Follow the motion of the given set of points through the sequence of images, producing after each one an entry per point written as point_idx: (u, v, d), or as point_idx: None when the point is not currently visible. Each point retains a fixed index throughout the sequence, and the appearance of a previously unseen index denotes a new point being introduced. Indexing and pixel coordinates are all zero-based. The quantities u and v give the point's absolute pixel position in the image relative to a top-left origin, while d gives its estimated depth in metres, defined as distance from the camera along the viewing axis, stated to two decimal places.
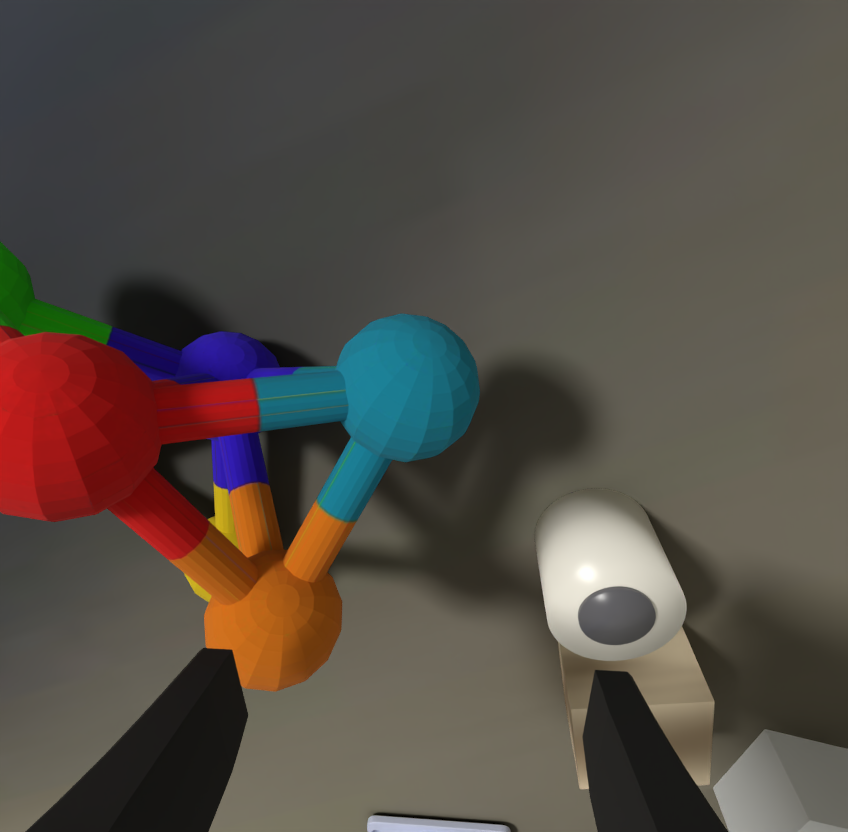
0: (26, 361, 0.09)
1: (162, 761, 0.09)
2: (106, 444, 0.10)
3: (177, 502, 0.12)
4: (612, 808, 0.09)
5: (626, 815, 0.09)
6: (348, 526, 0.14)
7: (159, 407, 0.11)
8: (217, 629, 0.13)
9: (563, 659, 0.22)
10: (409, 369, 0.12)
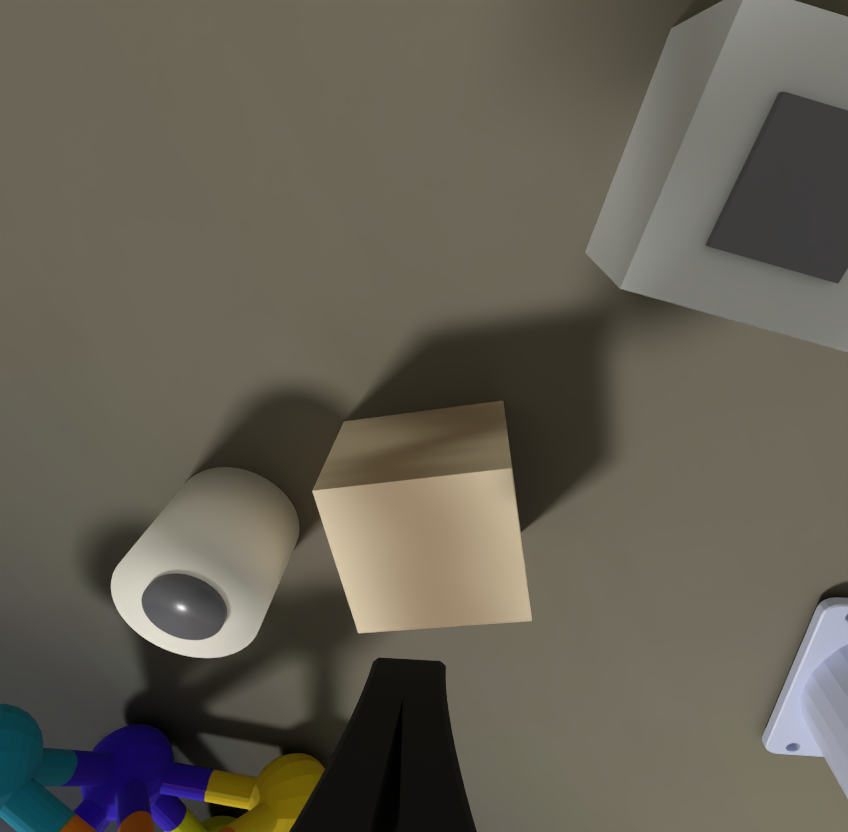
0: None
1: (384, 777, 0.08)
2: None
3: None
4: None
5: None
6: None
7: None
8: None
9: None
10: None
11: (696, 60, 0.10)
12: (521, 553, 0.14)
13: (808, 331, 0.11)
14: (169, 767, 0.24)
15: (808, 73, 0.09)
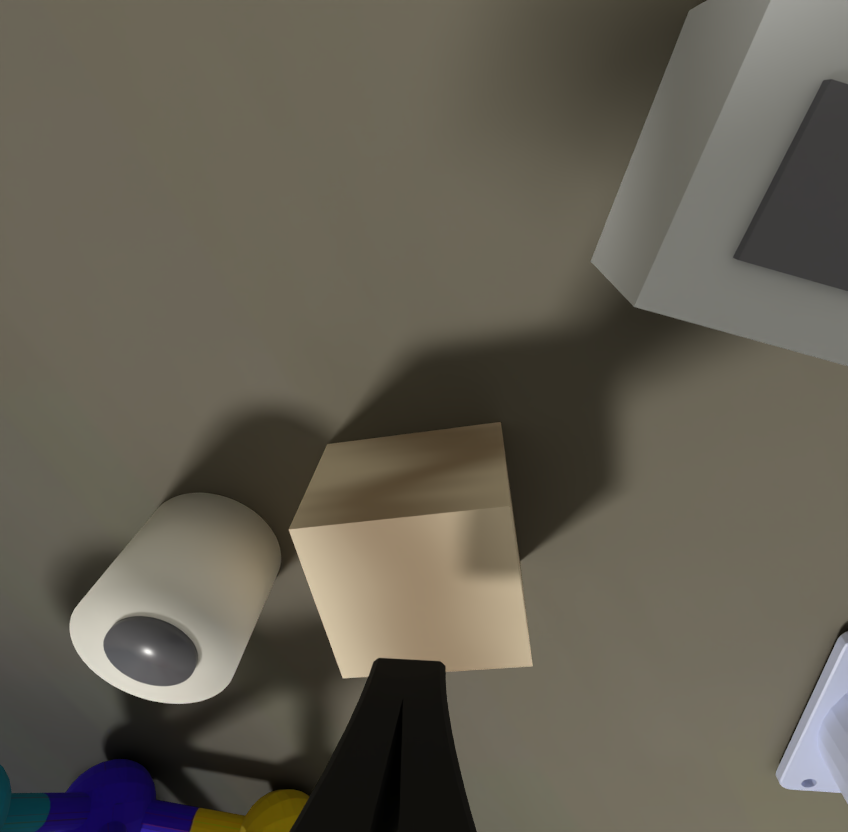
0: None
1: (384, 777, 0.08)
2: None
3: None
4: None
5: None
6: None
7: None
8: None
9: None
10: None
11: (723, 44, 0.09)
12: (521, 596, 0.13)
13: None
14: (150, 806, 0.22)
15: None
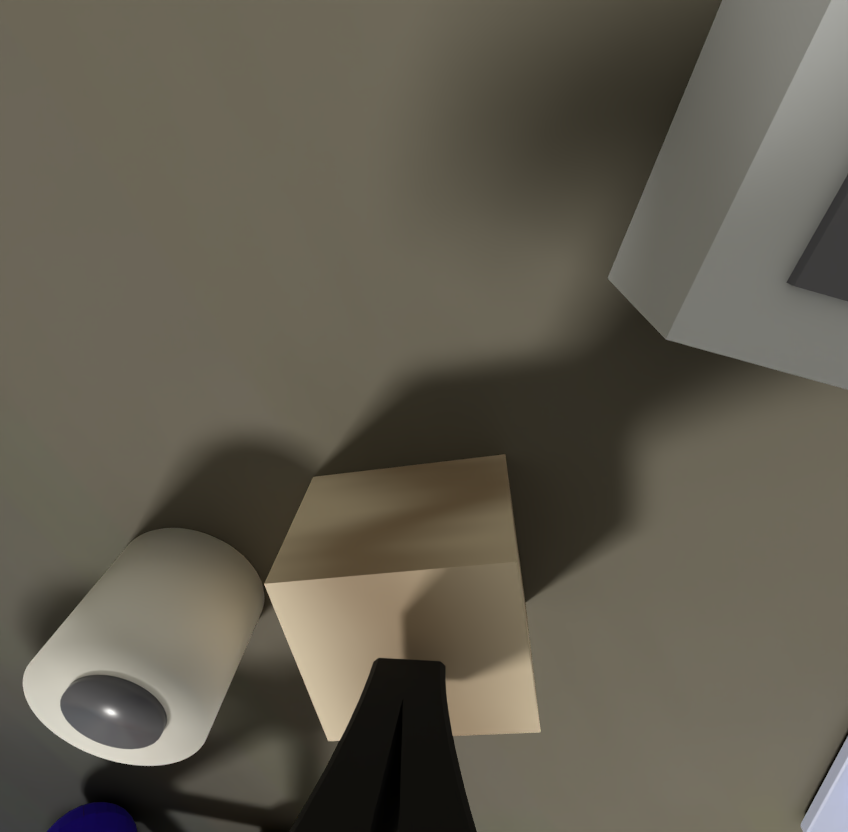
0: None
1: (384, 777, 0.08)
2: None
3: None
4: None
5: None
6: None
7: None
8: None
9: None
10: None
11: (778, 25, 0.07)
12: (528, 658, 0.11)
13: None
14: None
15: None
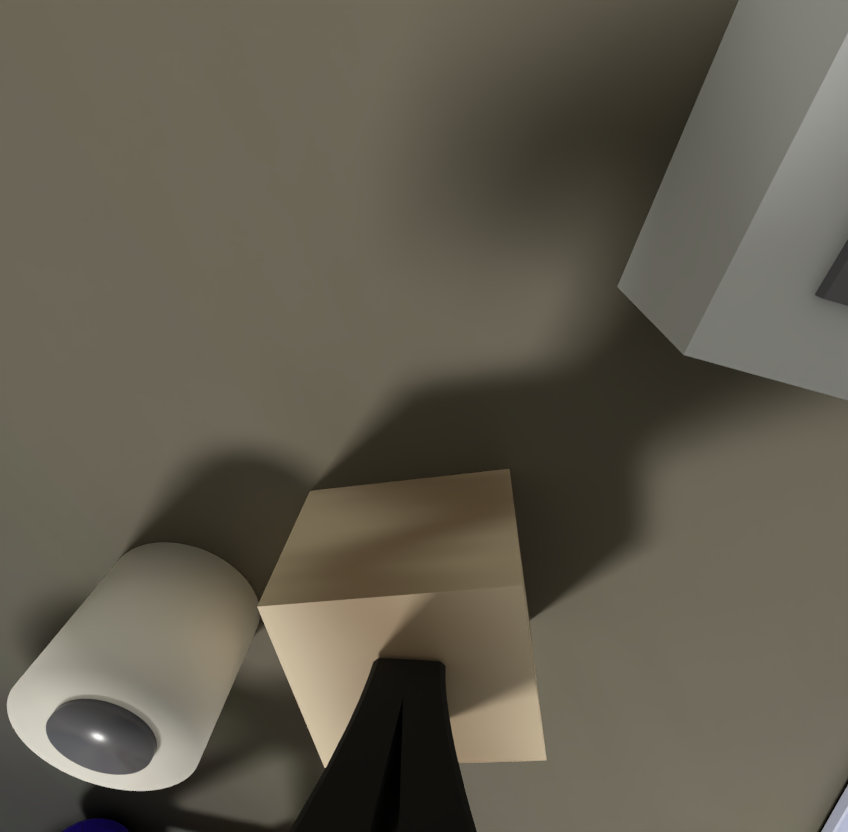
0: None
1: (384, 777, 0.08)
2: None
3: None
4: None
5: None
6: None
7: None
8: None
9: None
10: None
11: (808, 18, 0.07)
12: (534, 685, 0.11)
13: None
14: None
15: None
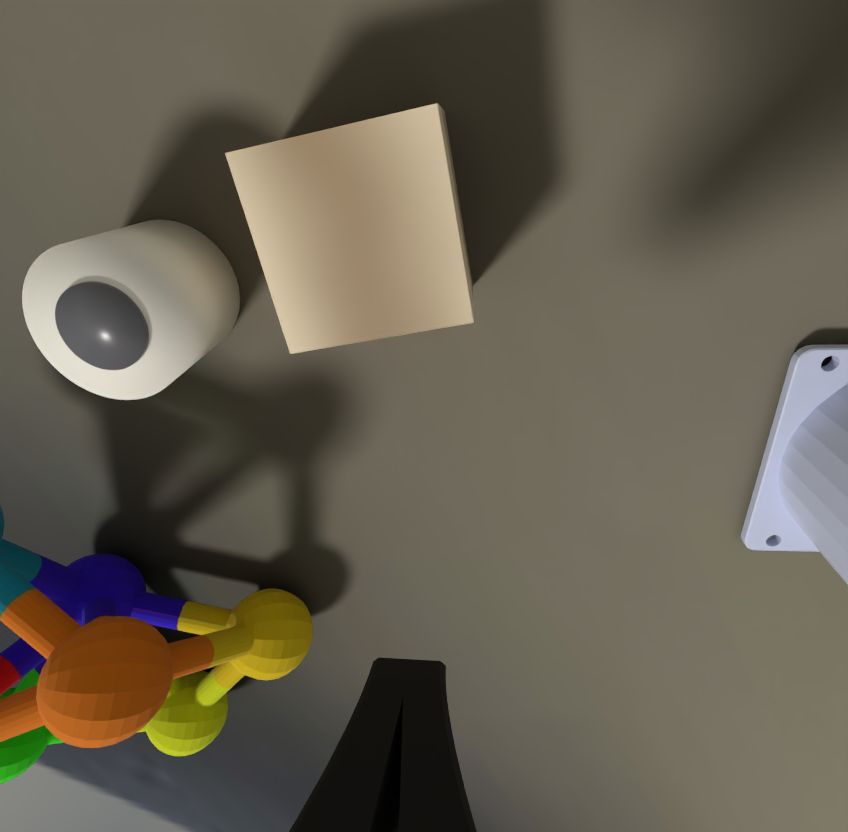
0: None
1: (384, 777, 0.08)
2: None
3: None
4: None
5: None
6: (12, 607, 0.16)
7: None
8: None
9: None
10: None
11: None
12: (456, 227, 0.13)
13: None
14: (140, 594, 0.23)
15: None
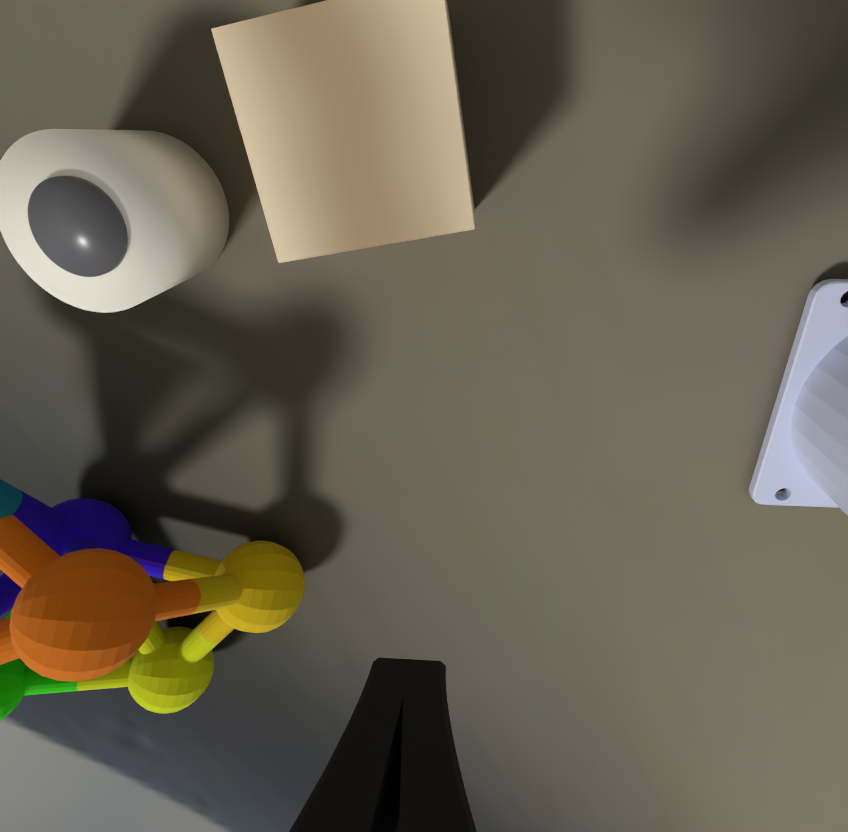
0: None
1: (384, 777, 0.08)
2: None
3: None
4: None
5: None
6: None
7: None
8: None
9: None
10: None
11: None
12: (458, 118, 0.12)
13: None
14: (126, 541, 0.22)
15: None
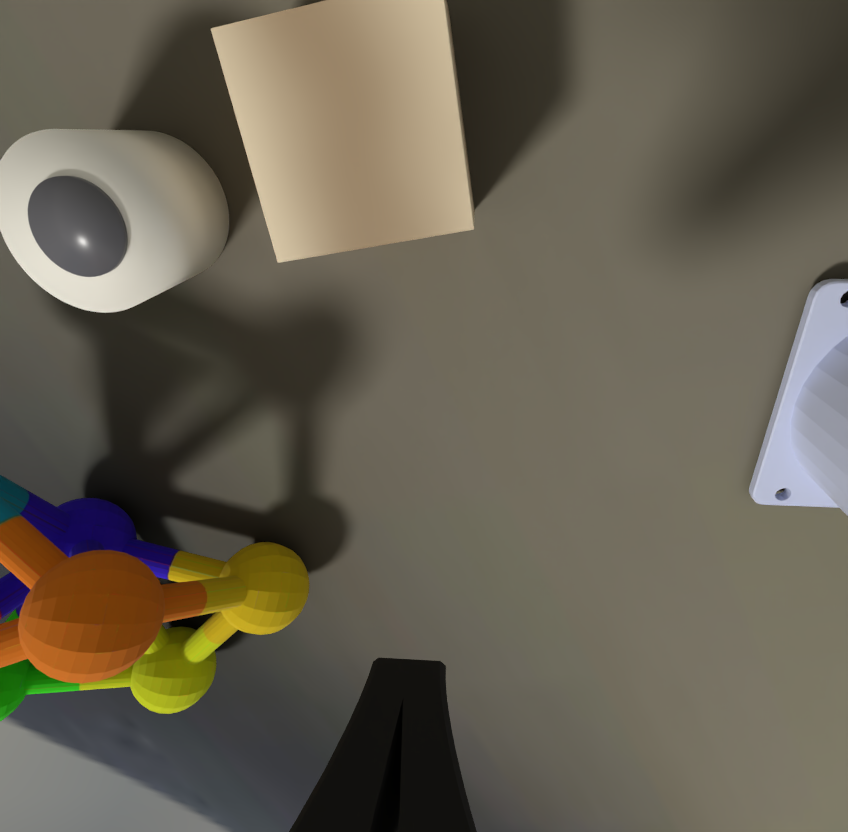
0: None
1: (384, 777, 0.08)
2: None
3: None
4: None
5: None
6: None
7: None
8: None
9: None
10: None
11: None
12: (457, 118, 0.12)
13: None
14: (131, 541, 0.22)
15: None
